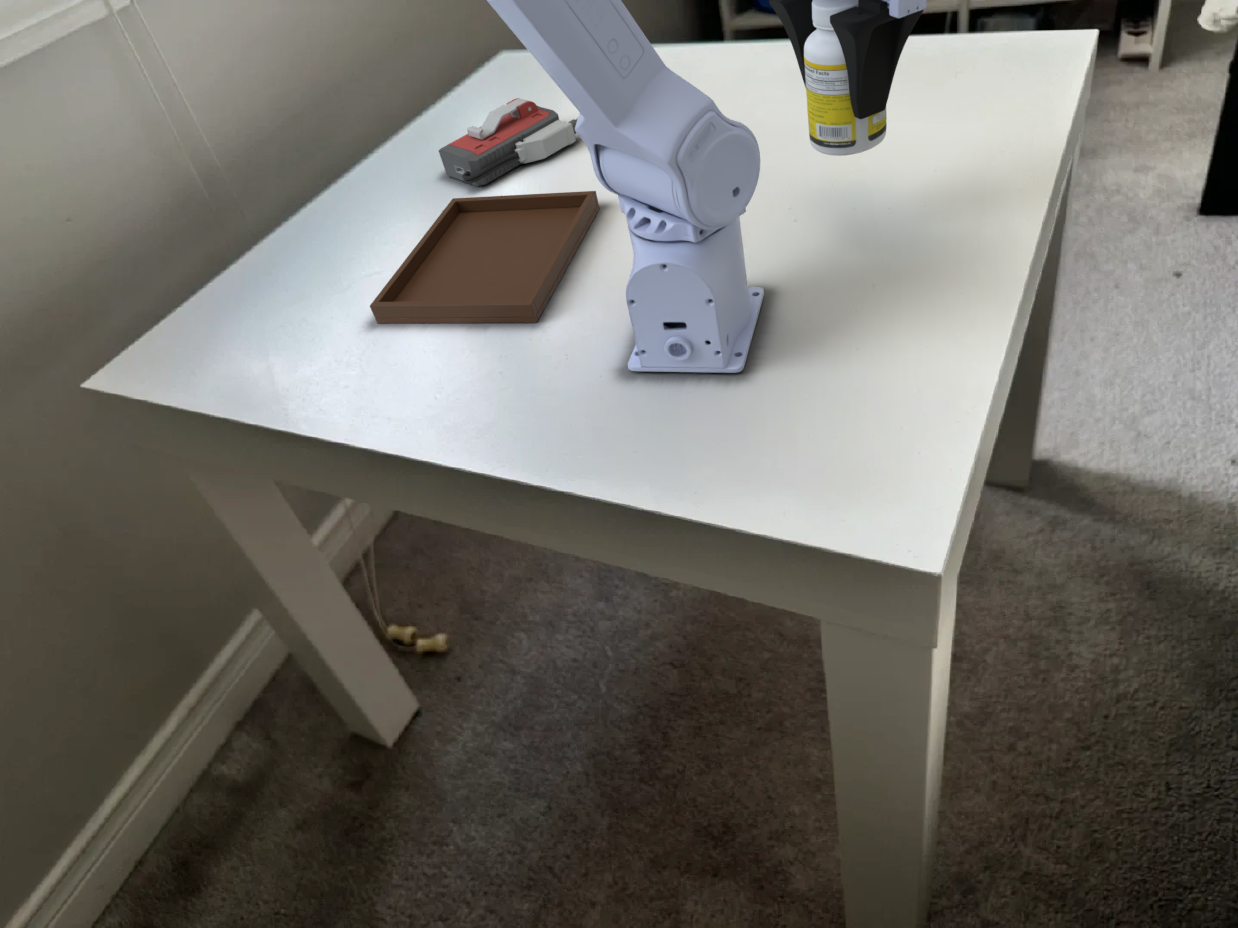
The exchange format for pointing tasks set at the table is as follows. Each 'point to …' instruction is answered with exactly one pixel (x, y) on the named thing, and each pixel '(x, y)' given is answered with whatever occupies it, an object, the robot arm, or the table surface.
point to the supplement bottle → (834, 90)
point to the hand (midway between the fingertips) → (845, 101)
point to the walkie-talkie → (506, 142)
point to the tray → (488, 260)
